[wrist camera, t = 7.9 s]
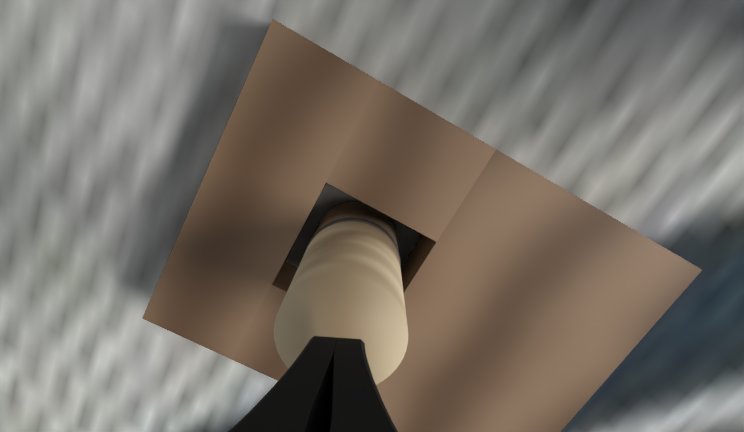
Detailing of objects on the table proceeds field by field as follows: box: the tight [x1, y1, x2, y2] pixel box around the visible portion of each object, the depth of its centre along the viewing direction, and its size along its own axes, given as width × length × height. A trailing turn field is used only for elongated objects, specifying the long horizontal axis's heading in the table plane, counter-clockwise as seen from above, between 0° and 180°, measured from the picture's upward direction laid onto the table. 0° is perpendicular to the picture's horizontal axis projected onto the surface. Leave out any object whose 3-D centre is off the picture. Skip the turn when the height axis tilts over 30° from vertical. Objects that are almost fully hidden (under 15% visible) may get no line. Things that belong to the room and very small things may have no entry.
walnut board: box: [143, 19, 702, 432], centre depth 19 cm, size 20×14×2 cm
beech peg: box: [274, 202, 408, 385], centre depth 16 cm, size 4×4×8 cm
